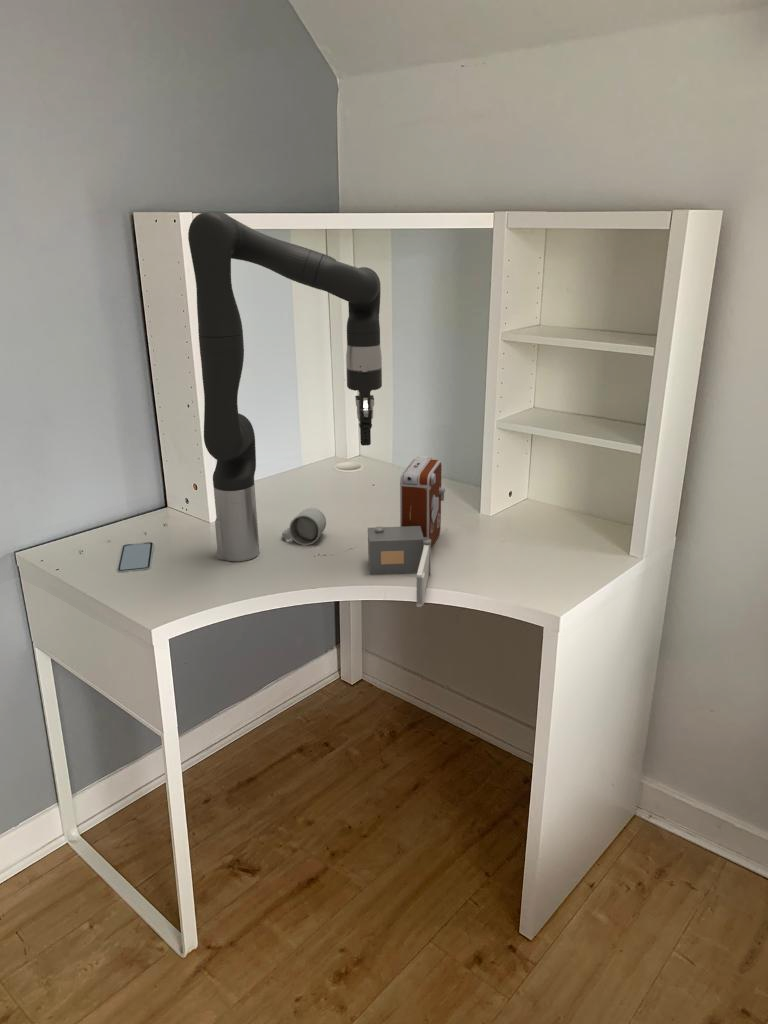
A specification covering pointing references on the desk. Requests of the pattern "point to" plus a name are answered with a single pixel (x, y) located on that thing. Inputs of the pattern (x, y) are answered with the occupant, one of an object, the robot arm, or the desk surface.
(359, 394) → the robot arm
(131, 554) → the smartphone
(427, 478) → the cine camera
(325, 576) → the desk surface
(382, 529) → the block
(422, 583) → the side door
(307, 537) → the ceramic mug
